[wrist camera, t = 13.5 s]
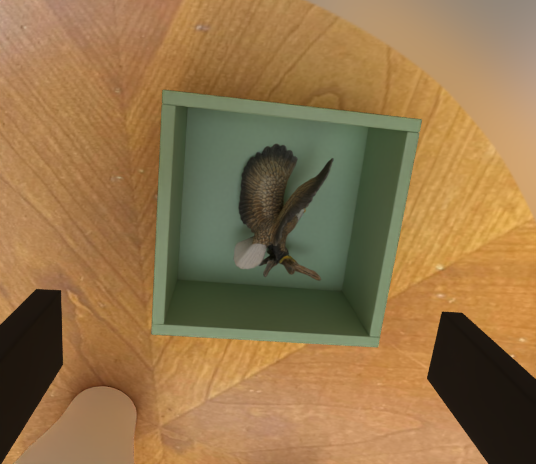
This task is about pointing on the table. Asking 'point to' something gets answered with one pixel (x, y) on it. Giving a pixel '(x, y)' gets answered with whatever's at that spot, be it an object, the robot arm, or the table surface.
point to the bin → (298, 240)
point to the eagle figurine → (273, 209)
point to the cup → (89, 431)
